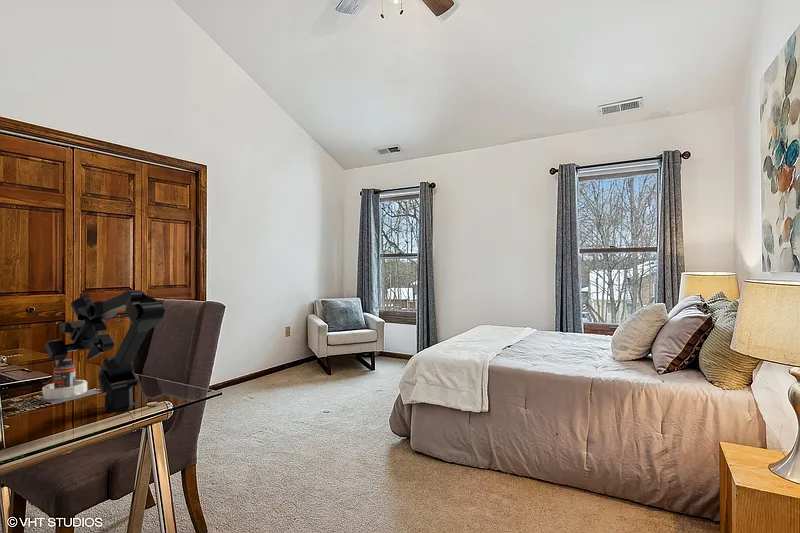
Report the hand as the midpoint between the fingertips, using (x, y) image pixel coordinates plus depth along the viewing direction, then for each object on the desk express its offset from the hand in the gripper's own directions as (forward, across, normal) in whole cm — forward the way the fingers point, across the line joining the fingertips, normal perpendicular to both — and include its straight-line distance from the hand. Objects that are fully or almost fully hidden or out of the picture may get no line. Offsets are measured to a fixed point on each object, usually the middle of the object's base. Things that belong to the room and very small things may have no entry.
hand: (72, 362), depth 149 cm
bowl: (+12, 0, +4) cm, 13 cm away
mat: (+12, 0, +5) cm, 13 cm away
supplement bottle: (+11, 0, +4) cm, 12 cm away
